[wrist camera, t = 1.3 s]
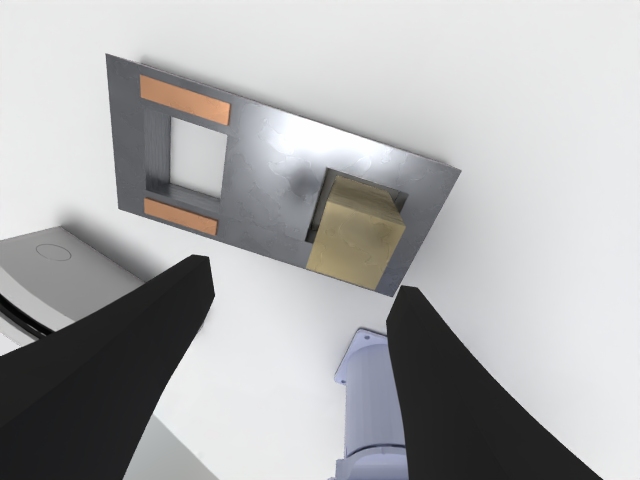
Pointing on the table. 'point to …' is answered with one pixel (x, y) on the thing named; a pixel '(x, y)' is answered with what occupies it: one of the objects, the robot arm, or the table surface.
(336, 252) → the brass peg
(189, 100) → the rail plate
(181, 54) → the table surface
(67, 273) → the grey rounded block
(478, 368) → the robot arm
